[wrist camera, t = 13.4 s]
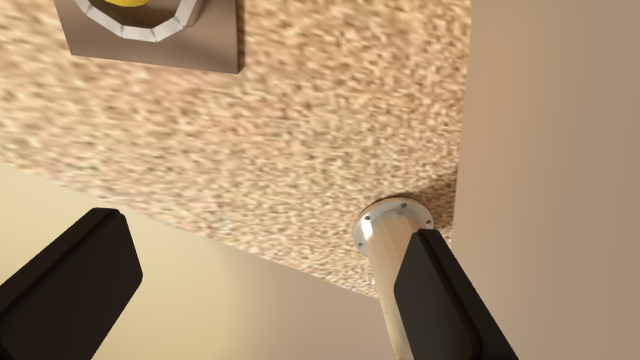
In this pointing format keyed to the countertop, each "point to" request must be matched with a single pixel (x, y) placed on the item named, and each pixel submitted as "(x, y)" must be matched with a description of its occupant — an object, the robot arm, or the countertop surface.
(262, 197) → the countertop surface
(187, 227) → the countertop surface
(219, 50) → the walnut board
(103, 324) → the robot arm
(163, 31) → the steel ring
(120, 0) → the lemon
